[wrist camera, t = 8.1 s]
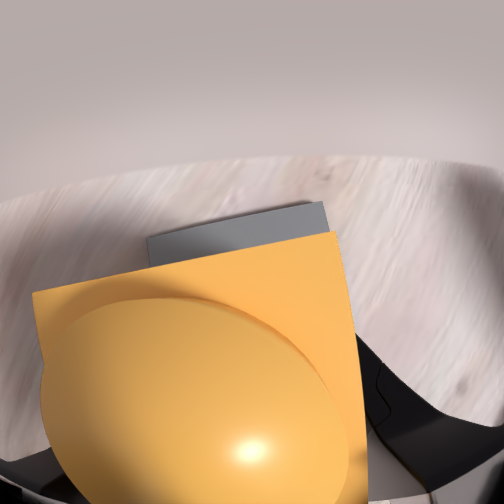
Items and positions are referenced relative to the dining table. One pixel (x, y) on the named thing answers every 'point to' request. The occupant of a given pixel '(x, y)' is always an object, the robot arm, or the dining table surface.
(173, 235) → the plain gray block
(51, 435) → the orange knob block
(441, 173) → the dining table surface
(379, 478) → the robot arm
